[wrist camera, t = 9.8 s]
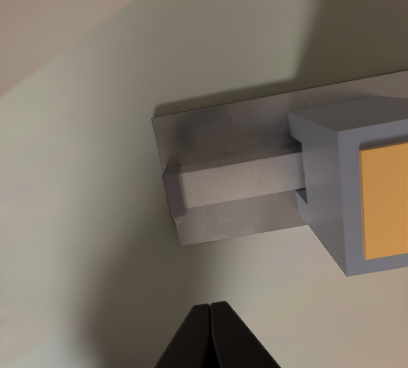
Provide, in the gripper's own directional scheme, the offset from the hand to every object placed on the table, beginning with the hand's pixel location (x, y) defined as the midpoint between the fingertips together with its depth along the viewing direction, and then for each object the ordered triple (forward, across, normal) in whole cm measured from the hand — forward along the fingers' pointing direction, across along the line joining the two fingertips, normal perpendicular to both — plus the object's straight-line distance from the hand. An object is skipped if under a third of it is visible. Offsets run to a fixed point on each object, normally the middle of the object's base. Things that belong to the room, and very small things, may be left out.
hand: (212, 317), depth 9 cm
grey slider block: (+12, -8, 0) cm, 14 cm away
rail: (+12, -8, 0) cm, 15 cm away
